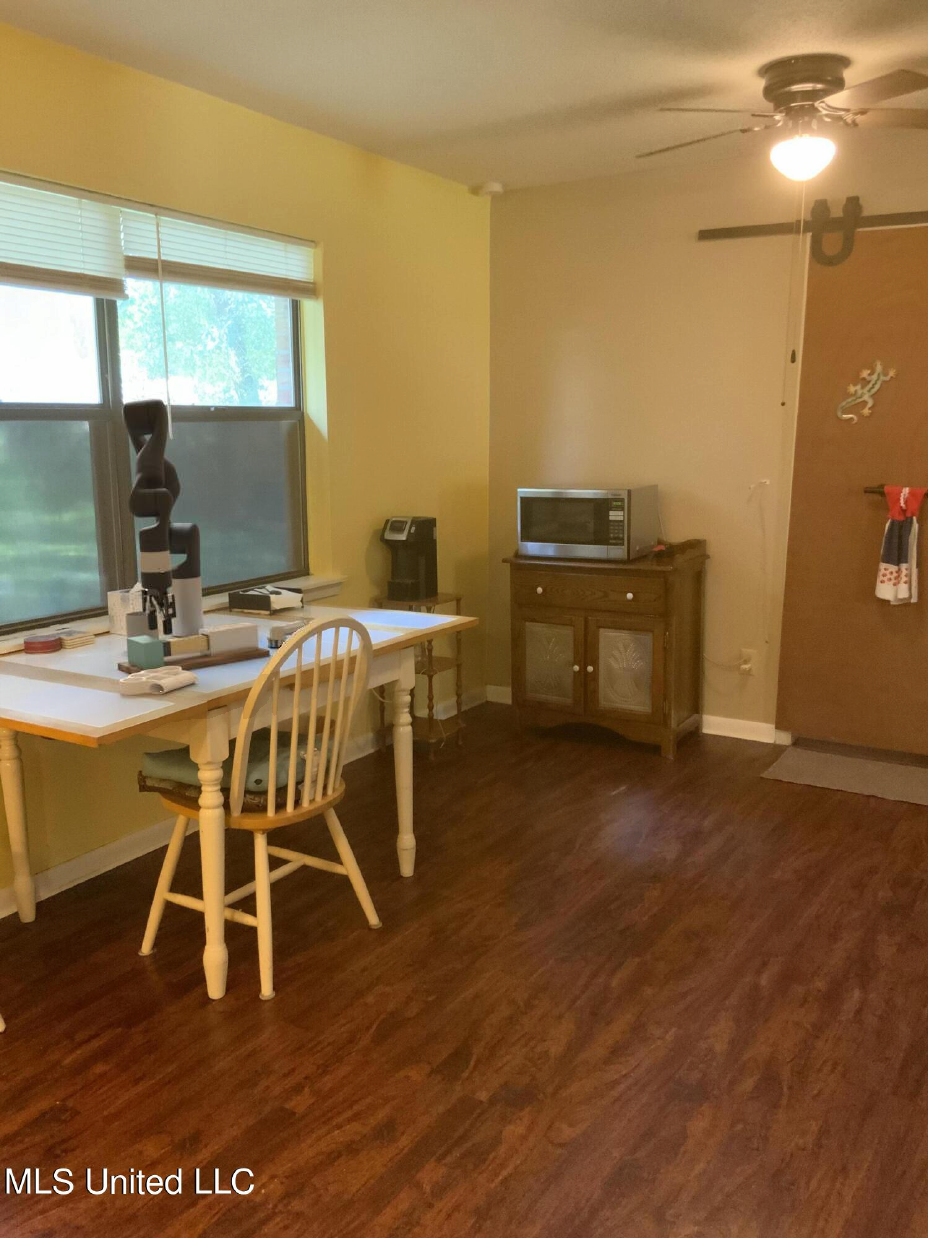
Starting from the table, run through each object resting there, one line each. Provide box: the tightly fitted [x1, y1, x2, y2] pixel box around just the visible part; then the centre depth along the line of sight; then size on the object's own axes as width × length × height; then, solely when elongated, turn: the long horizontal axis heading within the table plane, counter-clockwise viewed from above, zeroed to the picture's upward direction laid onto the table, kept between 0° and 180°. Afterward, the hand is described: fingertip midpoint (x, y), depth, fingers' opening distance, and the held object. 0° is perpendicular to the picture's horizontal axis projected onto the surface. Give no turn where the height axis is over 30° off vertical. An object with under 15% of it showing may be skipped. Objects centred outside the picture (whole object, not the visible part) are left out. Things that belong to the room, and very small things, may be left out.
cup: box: [125, 610, 160, 640], centre depth 287 cm, size 8×8×10 cm
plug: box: [161, 634, 209, 657], centre depth 266 cm, size 4×22×4 cm, turn 131°
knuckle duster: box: [118, 666, 199, 696], centre depth 243 cm, size 3×18×15 cm
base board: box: [117, 646, 271, 675], centre depth 269 cm, size 14×36×2 cm, turn 131°
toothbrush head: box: [266, 619, 310, 648], centre depth 296 cm, size 5×7×25 cm
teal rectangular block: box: [126, 635, 164, 669], centre depth 259 cm, size 10×5×6 cm, turn 41°
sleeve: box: [199, 621, 260, 656], centre depth 274 cm, size 6×14×6 cm, turn 131°
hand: (160, 632), depth 261 cm, fingers open, 8 cm apart
